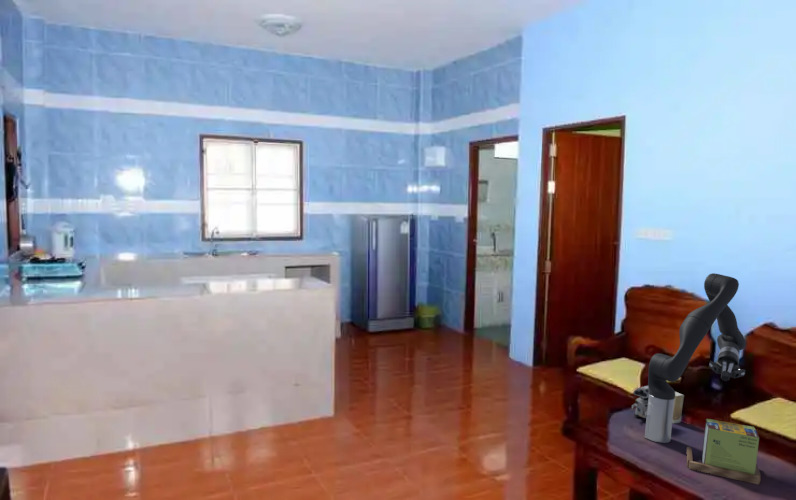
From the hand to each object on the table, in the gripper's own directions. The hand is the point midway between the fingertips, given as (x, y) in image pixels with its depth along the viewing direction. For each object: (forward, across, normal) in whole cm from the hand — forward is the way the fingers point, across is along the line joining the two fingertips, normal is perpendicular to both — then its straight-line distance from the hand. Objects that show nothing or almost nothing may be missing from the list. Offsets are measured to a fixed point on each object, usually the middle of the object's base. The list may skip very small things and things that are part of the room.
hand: (725, 378), depth 221 cm
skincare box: (-9, -15, +31) cm, 36 cm away
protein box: (+28, +6, +20) cm, 35 cm away
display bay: (+28, +5, +20) cm, 35 cm away
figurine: (0, -25, +30) cm, 39 cm away
